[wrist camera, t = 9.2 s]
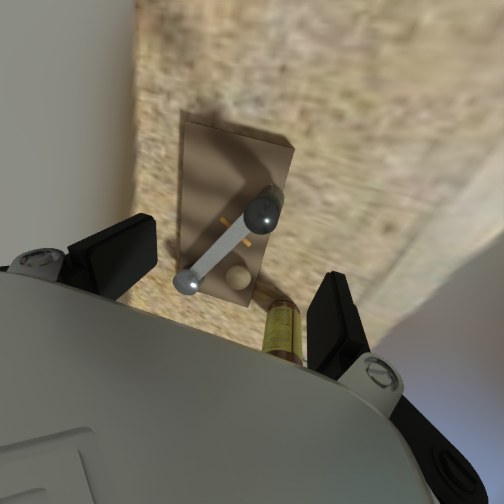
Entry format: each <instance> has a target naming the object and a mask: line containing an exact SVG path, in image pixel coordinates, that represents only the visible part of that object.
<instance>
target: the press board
mask: <svg viewBox="0 0 504 504" xmlns="http://www.w3.org/2000/svg"><path fill="white" fill-rule="evenodd" d="M294 151H295V149H293V148H290V147H286V146H282V145H278V144H274V143H270V142H266V141H263V140H259V139H255V138H251V137H247V136H243V135H239V134H236V133H232V132H228V131H224V130H220V129H216V128H212V127H209V126H205V125H201V124H197V123H193V122H188V121H185V127H184V153H183V179H182V205H181V231H180V256H179V271H180V270H181V269H182V268H183V267H184V266H185V265H188V264H193V265H194V264H195V263H196V262H197V261H198V260H199V259H200V258H201V257H202V256H203V254H204V253H205V252H206V251H207V250H208V249H209V248H210V247H211V246H212V245H213V244H214V243H215V242H216V241H217V240H218V239H219V238H220V237H221V236H222V235H223V234H224V232H225V231H226V230H227V229H228V228H229V227H230V226H231V225H232V224H233V223H234V222H235V221H236V220H237V219H238V218H239V217H240V216H241V215H242V214H243V213H244V211H245V209H246V207H247V206H248V205H249V204H250V203H251V201H252V200H253V199H254V198H255V197H256V195H257V194H258V193H259V192H260V191H261V189H262V188H264V187H265V186H268V185H270V184H271V183H272V184H273V185H275V186H277V187H279V188H280V189H281V190H282V192H283V188H284V185H285V181H286V178H287V175H288V171H289V168H290V164H291V161H292V158H293V154H294ZM269 236H270V233H268V234H265V235H258V234H255V233H253V232H250V233H249V234H248V235H246V236H245V237H244V238H243V239H242V240H241V241H240V242H239V243H238V244H237V245H236V246H235V247H234V248H233V249H232V250H231V251H230V252H229V253H228V254H227V255H225V256H224V257H223V258H222V259H221V260H220V261H219V262H218V263H217V264H216V265H215V266H214V267H213V268H212V269H211V270H210V271H209V272H208V273H207V274H206V275H205V280H204V282H203V283H202V285H201V286H200V288H199V289H198V292H201V293H204V294H207V295H210V296H213V297H216V298H219V299H222V300H225V301H229V302H232V303H235V304H238V305H241V306H244V307H247V308H248V307H249V304H250V300H251V297H252V294H253V290H254V287H255V283H256V280H257V277H258V273H259V270H260V266H261V263H262V260H263V256H264V253H265V249H266V246H267V243H268V239H269Z"/></svg>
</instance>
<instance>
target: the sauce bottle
mask: <svg viewBox="0 0 504 504" xmlns="http://www.w3.org/2000/svg"><path fill="white" fill-rule="evenodd" d="M262 352H265V353H268V354H270V355H273V356H276V357H279V358H281V359H284V360H287V361H290V362H292V363H295V364H298V365H300V366H303V356H302V331H301V317H300V311H299V309H298V308H297V307H296V306H295V305H294V304H293V303H291V302H288V301H278V302H275V303H273V304H272V305H271V306H270V307H269V311H268V314H267V318H266V325H265V332H264V339H263V346H262Z"/></svg>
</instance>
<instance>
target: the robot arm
mask: <svg viewBox="0 0 504 504" xmlns="http://www.w3.org/2000/svg"><path fill="white" fill-rule="evenodd" d="M67 248H68V250H69V253H68V254H66V255H65V254H64V252H63V251H61V250H58V249H54V248H42V249H36V250H32V251H28V252H25V253H23V254H21V255H19V256H18V257H16V258H15V259H14V260H13V262H12V263H11V265H10V266H2V267H0V504H488V496H487V493H486V489H485V487H484V485H483V483H482V481H481V479H480V477H479V475H478V474H477V472H476V471H475V469H474V468H473V467H472V465H471V464H470V463H469V462H468V460H467V459H466V458H465V457H464V456H463V455H462V454H461V453H460V452H459V451H458V450H457V449H456V448H455V447H454V446H453V445H452V444H451V443H450V442H449V441H448V440H447V439H446V438H445V437H444V436H443V435H442V434H441V433H440V432H439V431H438V430H437V429H436V428H435V427H434V426H433V425H432V424H431V423H430V422H429V421H428V420H427V419H426V418H425V417H424V416H423V415H422V414H421V413H420V412H419V411H418V410H417V409H416V408H415V407H414V406H413V405H412V404H411V403H410V402H409V401H408V400H407V399H406V398H405V397H404V396H403V395H402V394H403V391H404V384H403V380H402V378H401V376H400V374H399V373H398V372H397V370H396V369H395V368H394V366H392V364H390V363H389V362H388V361H387V360H385V359H384V358H383V357H381V356H379V355H377V354H374V353H371V352H370V348H369V345H368V342H367V339H366V336H365V332H364V329H363V326H362V323H361V320H360V316H359V313H358V310H357V307H356V305H354V303H353V300H352V297H351V293H350V290H349V287H348V283H347V280H346V277H345V274H342V273H339V272H335V271H332V272H331V273H329V272H328V273H327V274H326V275H325V277H324V279H323V281H322V283H321V285H320V287H319V289H318V291H317V293H316V295H315V296H314V298H313V300H312V302H311V304H310V306H309V308H308V310H307V368H306V367H303V366H300V365H298V364H295V363H292V362H290V361H287V360H284V359H281V358H279V357H276V356H273V355H270V354H268V353H265V352H262V351H259V350H256V349H253V348H251V347H248V346H245V345H242V344H239V343H236V342H233V341H231V340H228V339H225V338H222V337H219V336H216V335H213V334H211V333H208V332H205V331H202V330H199V329H196V328H193V327H190V326H187V325H184V324H182V323H179V322H176V321H173V320H170V319H167V318H164V317H161V316H158V315H155V314H152V313H149V312H146V311H144V310H141V309H138V308H135V307H132V306H129V305H125V304H123V303H120V302H117V301H116V300H117V299H118V298H119V297H120V296H122V295H123V294H124V293H125V292H126V291H127V290H128V289H130V288H131V287H132V286H133V285H134V284H135V283H136V282H138V281H139V280H140V279H141V278H142V277H143V276H145V275H146V274H147V273H148V272H149V271H150V270H151V269H153V268H154V267H155V266H156V264H157V261H158V258H157V234H156V221H155V220H154V218H153V217H152V216H150V215H147V214H144V213H139V214H137V215H134V216H132V217H130V218H128V219H126V220H124V221H122V222H119V223H117V224H115V225H113V226H111V227H109V228H107V229H105V230H103V231H100V232H98V233H96V234H94V235H91V236H89V237H87V238H86V239H83V240H81V241H79V242H76V243H74V244H72V245H70V246H68V247H67Z"/></svg>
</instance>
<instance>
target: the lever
mask: <svg viewBox="0 0 504 504" xmlns="http://www.w3.org/2000/svg"><path fill="white" fill-rule="evenodd" d="M284 198H285V197H284V194H283V192H282V190H281V189H280V188H279V187H277V186H275V185H273V184H272V183H271V184H270V185H268V186H265V187H264V188H262V189H261V191H260V192H259V193H258V194H257V195H256V197H255V198H254V199H253V200H252V201H251V203H250V204H249V205H248V206H247V207H246V209H245V211H244V213H243V214H242V215H241V216H240V217H239V218H238V219H237V220H236V221H235V222H234V223H233V224H232V225H231V226H230V227H229V228H228V229H227V230H226V231H225V232H224V234H223V235H222V236H221V237H220V238H219V239H218V240H217V241H216V242H215V243H214V244H213V245H212V246H211V247H210V248H209V249H208V250H207V251H206V252H205V253H204V254H203V256H202V257H201V258H200V259H199V260H198V261H197V262H196V263H195V264H194V265H193V264H188V265H185V266H184V267H183V268H182V269H181V270H180V271H179V272H178V273H177V274H176V275H175V277H174V278H173V284H174V287H175V288H176V289H177V290H178V291H179V292H180V293H182V294H184V295H194V294H195V293H196V292H197V291H198V289H199V288H200V286H201V285H202V283H203V282H204V280H205V275H206V274H207V273H208V272H209V271H210V270H211V269H212V268H213V267H214V266H215V265H216V264H217V263H218V262H219V261H220V260H221V259H222V258H223V257H224V256H225V255H227V254H228V253H229V252H230V251H231V250H232V249H233V248H234V247H235V246H236V245H237V244H238V243H239V242H240V241H241V240H242V239H243V238H244V237H245V236H246V235H248V234H249V233H250V232H253V233H255V234H258V235H265V234H268V233H270V232H272V231H273V230H274V229H275V228H276V226H277V223H278V220H279V216H280V213H281V210H282V206H283V203H284Z"/></svg>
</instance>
